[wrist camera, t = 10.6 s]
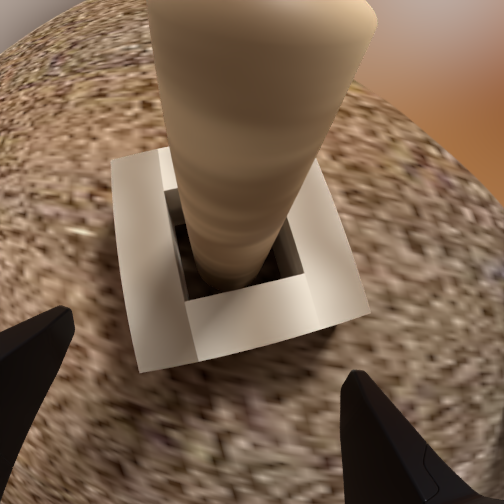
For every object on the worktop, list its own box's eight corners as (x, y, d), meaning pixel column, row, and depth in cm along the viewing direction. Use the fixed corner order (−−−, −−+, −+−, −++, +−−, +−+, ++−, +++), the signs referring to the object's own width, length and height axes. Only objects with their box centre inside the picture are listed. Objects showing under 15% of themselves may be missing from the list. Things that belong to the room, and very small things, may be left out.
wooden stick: (203, 298, 18) (149, 61, 3) (189, 235, 19) (146, -33, 4) (269, 282, 19) (420, 57, 4) (252, 221, 20) (321, -37, 5)
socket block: (158, 368, 17) (139, 373, 12) (129, 197, 20) (110, 160, 15) (338, 322, 18) (370, 312, 14) (287, 167, 21) (302, 126, 17)
